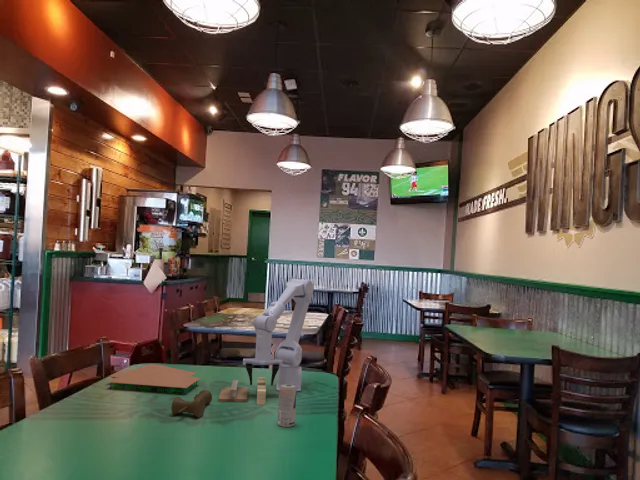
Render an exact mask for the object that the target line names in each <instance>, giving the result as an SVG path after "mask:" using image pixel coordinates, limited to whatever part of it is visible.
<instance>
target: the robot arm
mask: <svg viewBox="0 0 640 480" xmlns="http://www.w3.org/2000/svg"><path fill="white" fill-rule="evenodd" d="M314 290H315V287H314V284H313V280H311V279H302V278H294V277H292V278H289V279H288V281H287V282H286V283H285V289H284V291H283V292H282V293H281V295H280V296H279V298H278V300H277V301H272V302H271V303H270V305H269V306H268V307H267V308H266V309H265V311H263V313H262V314H260V315H258V316H256V318H255V319H254V322H253V328H254V330H255V331H254V333H255V336H256V337H255V355H254V356H255V357H253V358H252V357H251V358H243V359H242V366H245V369H246V371H247V376H248V379H249V386H253V368H254V367H253V365H254V366H255V365H256V366H271V379H270V380H271V381H270V386H274V381H275V378H276V376H277V384H276V385H275V386H276V389H275V390H276V391H278V392H279V388H280V385H281V384H294V385H296V388H297V390H296V392H301V390H302V383H303V382H302V375H303V374H302V372H303V371H302V366H300V364H301V362H302V359H303V358H302V357H303V356H302V354H303V348H302V346H301V345H300V344H299V341H300V338H301V335H302V332H303V327H304V323H305V320H306V315H307V312H308V309H309V307H310V306H309V305H310V302H311V301H312V296H313V294H314ZM291 300H294V302H295V305H294V309H293V313H292V316H291V320H290V323H289V326H288V331H287V333H286V335H285V339H284V340H283V341H281V342H279V345H278V347H277V349H276V351H275V353H274V358H272V341H273V340H272V339H273V331H274V330H275V329H276V327H277V323H278V320H279V318H280V317H281V316H282V314H284V312H285V307H286V305H287V304H288V303H289V302H291Z"/></svg>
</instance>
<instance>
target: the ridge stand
mask: <svg viewBox="0 0 640 480" xmlns="http://www.w3.org/2000/svg"><path fill="white" fill-rule="evenodd" d="M248 394H249V387H248V386H246V387H245V386H239V379H233V380H232V382H231V385H230V386H221V389H220V393H219V396H218V399H217V400H218V401H217V402H220V403H221V402H223V403H224V402H226V403H233V402H234V403H247V402H248V396H249V395H248Z"/></svg>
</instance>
